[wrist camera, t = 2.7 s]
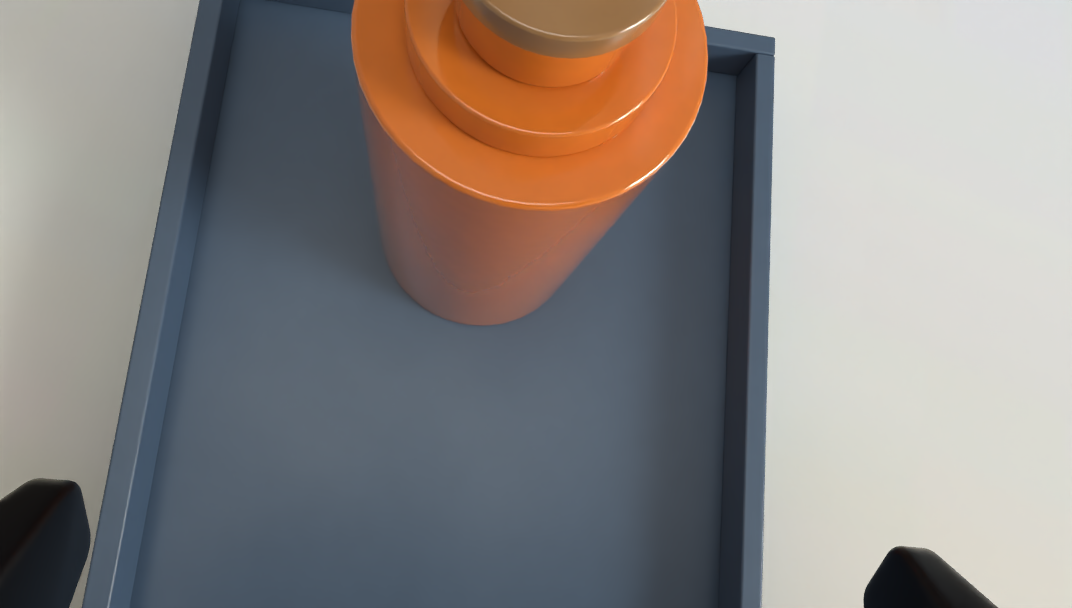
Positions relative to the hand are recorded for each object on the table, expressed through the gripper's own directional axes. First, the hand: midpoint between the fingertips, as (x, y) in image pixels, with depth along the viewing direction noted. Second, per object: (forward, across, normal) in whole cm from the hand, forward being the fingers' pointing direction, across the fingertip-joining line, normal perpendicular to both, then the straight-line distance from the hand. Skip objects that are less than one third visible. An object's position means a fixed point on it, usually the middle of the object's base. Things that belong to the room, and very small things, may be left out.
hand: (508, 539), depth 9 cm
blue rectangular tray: (+12, 0, +7) cm, 14 cm away
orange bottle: (+14, 0, +4) cm, 14 cm away
